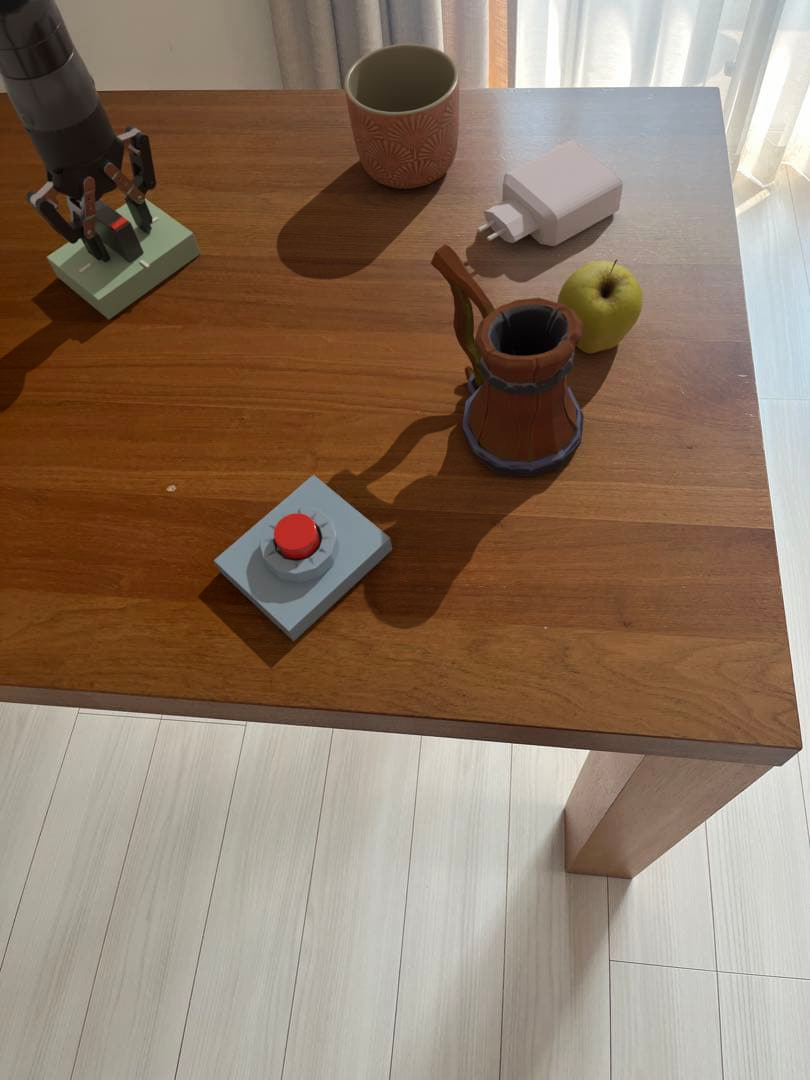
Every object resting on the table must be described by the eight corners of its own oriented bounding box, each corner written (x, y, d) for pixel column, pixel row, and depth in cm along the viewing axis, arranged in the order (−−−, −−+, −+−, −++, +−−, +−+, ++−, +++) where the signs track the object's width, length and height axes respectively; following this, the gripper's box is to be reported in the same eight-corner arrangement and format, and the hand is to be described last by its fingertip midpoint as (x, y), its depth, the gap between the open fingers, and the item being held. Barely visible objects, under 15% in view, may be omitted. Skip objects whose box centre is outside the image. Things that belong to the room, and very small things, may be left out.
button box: (293, 641, 75) (284, 622, 72) (219, 571, 79) (207, 550, 76) (392, 549, 79) (388, 527, 75) (317, 487, 83) (309, 463, 79)
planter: (483, 169, 103) (482, 80, 93) (395, 216, 100) (385, 130, 91) (422, 117, 108) (415, 29, 99) (337, 160, 106) (322, 74, 96)
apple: (555, 290, 91) (593, 222, 82) (625, 322, 91) (671, 258, 82) (532, 347, 88) (569, 282, 79) (605, 380, 88) (650, 319, 79)
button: (297, 567, 75) (293, 557, 73) (269, 542, 76) (265, 532, 75) (327, 539, 76) (324, 529, 74) (300, 515, 77) (296, 505, 76)
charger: (458, 229, 98) (565, 171, 101) (508, 276, 94) (618, 215, 97) (457, 194, 94) (568, 135, 97) (509, 242, 90) (624, 178, 93)
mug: (399, 382, 88) (384, 268, 75) (491, 327, 91) (492, 208, 78) (512, 503, 80) (516, 400, 67) (609, 439, 83) (631, 328, 70)
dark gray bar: (95, 236, 98) (79, 203, 94) (109, 226, 99) (94, 193, 95) (129, 263, 95) (114, 230, 92) (144, 252, 96) (129, 220, 92)
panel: (110, 321, 96) (99, 300, 93) (55, 275, 100) (43, 254, 97) (202, 255, 100) (194, 233, 97) (146, 213, 104) (136, 191, 101)
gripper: (95, 49, 86) (154, 193, 101) (-29, 125, 82) (52, 264, 96) (141, 78, 83) (195, 222, 98) (15, 159, 79) (91, 296, 94)
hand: (123, 242), depth 97 cm, fingers open, 5 cm apart
